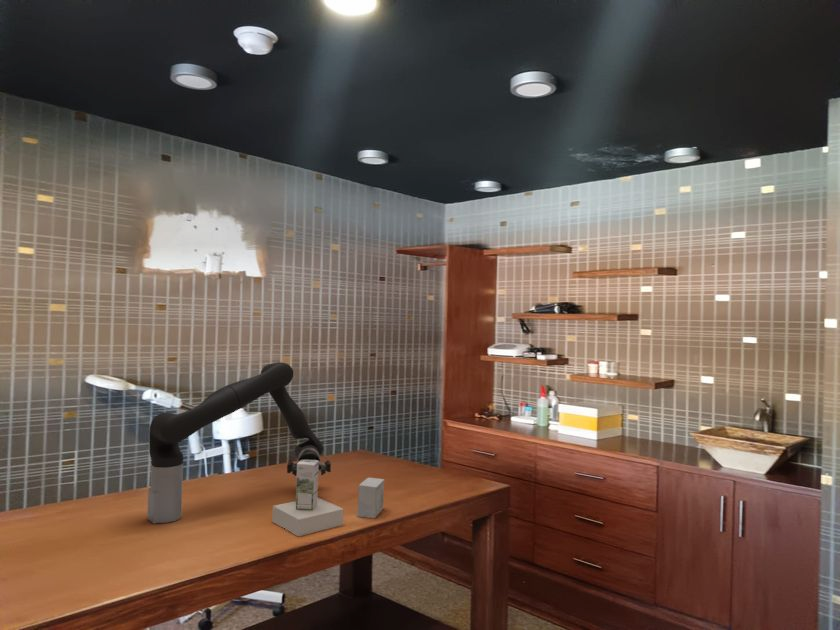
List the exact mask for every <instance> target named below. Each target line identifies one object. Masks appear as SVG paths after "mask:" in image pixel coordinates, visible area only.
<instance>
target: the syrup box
mask: <svg viewBox="0 0 840 630" xmlns="http://www.w3.org/2000/svg"><path fill="white" fill-rule="evenodd" d="M297 462H298V461H297ZM297 462H296V463H297ZM318 465H319V461H318V460H300V461H299V462H298V463H297V476H296V488H295V489H296V491H295V501H296V509H302V510H313V509H314V508H315V507H316V506H317V497H318V491H319V490H318V489H319V486H318V485H319V484H318V483H319V473H318Z"/></svg>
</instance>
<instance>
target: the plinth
mask: <svg viewBox="0 0 840 630" xmlns="http://www.w3.org/2000/svg"><path fill="white" fill-rule="evenodd" d="M271 520H272V523H274V524H276V525H278V526H279V527H280V528H282V527H283V529H284V528H285V529H284V530H285V531H287V532H289V531H290V533H291V534H293V535H294V536H297V537H303V536H306V535H310V534H312V533H317V532H322V531H325V530H328V529H333V528H336V527H340V526H343V525H344V508H342V507H340V506H338V505H337V504H334V503H331V502H329V501H326V500H324V499H323V498H320V497H318V496H317V506H316V507H315V508H314V509H313V510H302V509H296V500H295V501H289V502H285V503H281V504H280V503H279V504H276V505H272V519H271Z"/></svg>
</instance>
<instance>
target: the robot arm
mask: <svg viewBox="0 0 840 630" xmlns="http://www.w3.org/2000/svg"><path fill="white" fill-rule="evenodd" d="M293 378H294V370H293V368H292V366H291V365H289V363H286V362H280V361H279V362H273V363H269V364H266V365H264V366H263V367H262V368H261V371H260V373H259V374H257V375H255V376H252V377H249V378H245V379H242V380H239V381H236V382H233V383H230V384H228V385H225V386H223V387H221V388H219V389H217V390H215V391H213V392H212V393H210V394H209V395H208V396H207V397H205V399H204V400H203V401H202V402H200V404H198V405H196V406H195V407H193V408H191V409H188V410H185V411H183V412H181V413H177V414H176V413H172V412H166V411H165V412H161V413H158V414H157V415H155V417H154V418H153V419H152V420H151V422H150V425H149V434H148V435H149V436H148V437H149V438H148V439H149V443H148V444H149V447H148V448H149V456H150V459H151V467H150V469H151V470H150V487H149V488H148V490H147V491H148V492H147V493H148V494H147V518H146V519H147V520H148V521H150V522H151V523H152V524H154V525H155V524H164V523H165V524H166V523H167V524H168V523H172V522H176V521H178V520H180V519H181V518H182V508H183V507H182V503H183V501H182V500H183V475H184V454H183V453H182V451H181V449H180V446H179V445H180V443H181V442H182V441H184V440H186V439H187V438H189V437H190V436H192V435H193V434H195V433H196V432H198V431H199V430H201V429H203V428H205V427H207V426H209V425H210V424H212V423H215V422H216V421H219V420H221V419H223V418H224V417H226V416H229V415H231V414H233V413H234V412H236V411H238V410H241V409H242V408H244V407H245V406H248V405H249V404H250V403H253V402H254V401H256V400H258V399H259V398H260V397H262V396H264V395H266V394H268V393H269V395H270V396H271V398H272V399H273V401H274V402H275V404H276V405H277V408H278V409H279V411H280V413H281V415H282V416H283V418H284V421H285V423H286V425H287V428H288V429H289V431H290V434H291V437H293V439H295V440H300V439H308V440H305V441H303V442H301V443H299V444H298V445H297V446H295V448H294V455H295V457H296V459H297V462H296V463H294V461H292V460H289V461H288V462H287V465H286V473H287V474H292V475H294V477H297V463H298V462H299V461H300V460H318V461H319V465H318V474H319V473H320V475H321V476H324V475H325V474H326V472H327V473H331V468H332V467H331V466H332V464H331V461H330V460H326V461H324V462H322V461H321V457H320V456H321V455H322V454H323V453H324V450H325V449H324V445H323V443H322V441H321V440H320V438H318V437H317V436H316V434H314V432H313V430H312V429H311V427H310V425H309V423H308V421H307V419H306V417H305V415H304V412H303V411H302V409H301V408H300V407H299V405H298V404H297V403H296V401H294V400H293V398H292V397H291V395H290V394H289V393H288V390H287V387H286V386H289V384H290V383H291V381H292V380H293Z"/></svg>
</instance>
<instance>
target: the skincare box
mask: <svg viewBox="0 0 840 630" xmlns="http://www.w3.org/2000/svg"><path fill="white" fill-rule="evenodd" d="M384 491H385V479H384V478H378V477H377V478H375V477H367V478H366V479H364V480H363V481H362V482H361V483H360V484H358V494H357V496H358V497H357V498H358V499H357V511H356V512H357V513H356V517H358V518H369V519H376V517H378V515H379V514H381V512H382V511H383V510H384Z"/></svg>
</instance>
